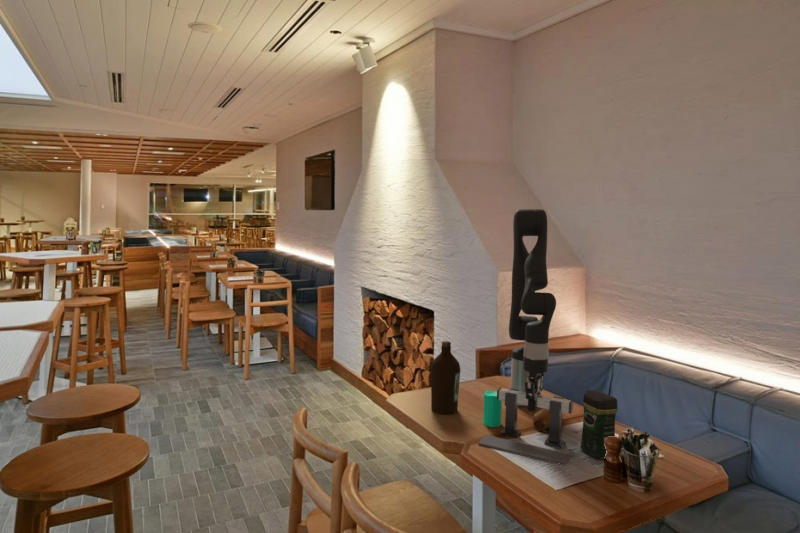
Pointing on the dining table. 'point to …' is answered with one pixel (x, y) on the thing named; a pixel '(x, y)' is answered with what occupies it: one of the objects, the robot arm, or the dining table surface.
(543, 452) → the mat
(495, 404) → the candle
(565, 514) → the dining table surface
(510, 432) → the post pair
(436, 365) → the olive oil
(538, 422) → the bread roll
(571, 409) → the rail
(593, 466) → the dining table surface
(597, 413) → the coffee jar
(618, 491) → the dining table surface
